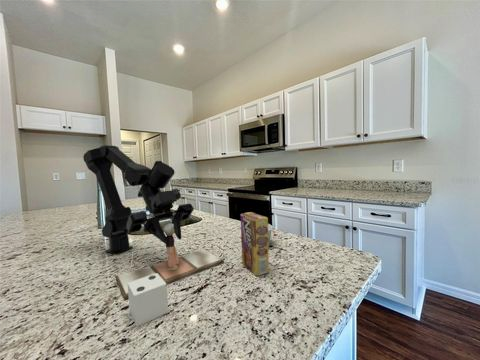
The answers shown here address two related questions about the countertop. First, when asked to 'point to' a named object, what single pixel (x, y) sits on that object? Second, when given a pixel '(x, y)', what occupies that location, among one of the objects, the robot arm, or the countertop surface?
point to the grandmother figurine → (171, 247)
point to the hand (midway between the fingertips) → (173, 240)
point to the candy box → (255, 243)
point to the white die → (147, 298)
